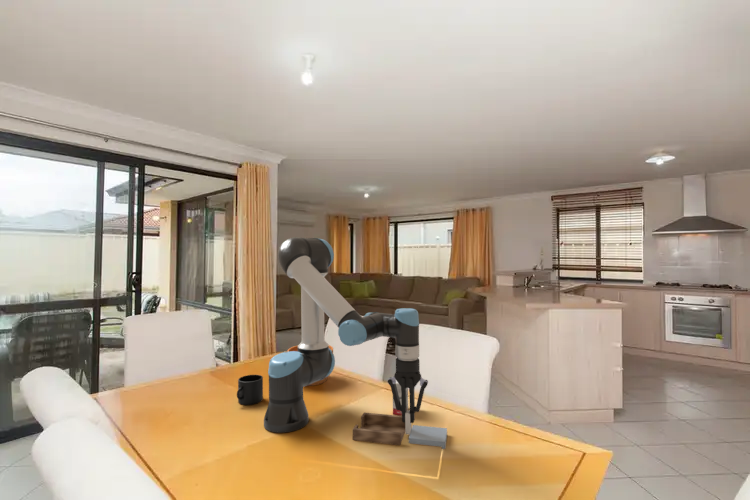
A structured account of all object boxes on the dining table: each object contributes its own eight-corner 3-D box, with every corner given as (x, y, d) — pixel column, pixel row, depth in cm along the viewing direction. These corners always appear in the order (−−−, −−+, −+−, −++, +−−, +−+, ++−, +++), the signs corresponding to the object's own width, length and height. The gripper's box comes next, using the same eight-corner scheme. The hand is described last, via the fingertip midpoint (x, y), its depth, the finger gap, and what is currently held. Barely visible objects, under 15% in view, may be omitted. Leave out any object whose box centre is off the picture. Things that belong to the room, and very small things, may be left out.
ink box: (405, 417, 135) (405, 384, 135) (392, 416, 136) (392, 383, 136) (408, 407, 143) (408, 376, 143) (395, 406, 144) (395, 375, 144)
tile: (408, 446, 115) (408, 438, 115) (412, 432, 124) (412, 425, 124) (445, 450, 112) (445, 441, 112) (447, 436, 121) (446, 428, 121)
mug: (228, 405, 147) (227, 382, 147) (250, 395, 158) (250, 373, 158) (246, 409, 143) (246, 385, 143) (267, 398, 154) (267, 376, 154)
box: (352, 441, 117) (352, 429, 117) (364, 423, 130) (364, 412, 130) (400, 447, 114) (400, 434, 114) (407, 427, 126) (407, 416, 126)
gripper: (384, 359, 118) (385, 435, 117) (426, 362, 115) (427, 440, 114) (389, 353, 125) (390, 425, 125) (429, 355, 122) (430, 429, 122)
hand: (408, 432), depth 120 cm, fingers closed
